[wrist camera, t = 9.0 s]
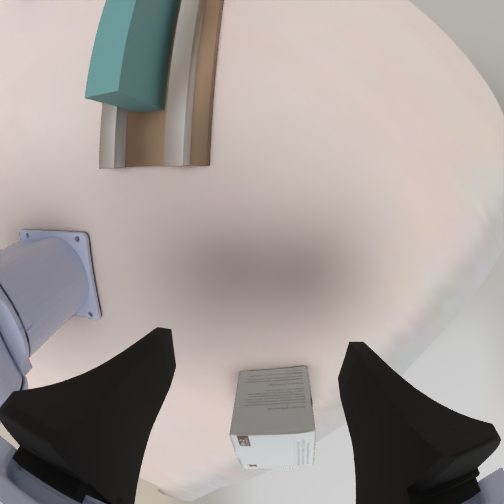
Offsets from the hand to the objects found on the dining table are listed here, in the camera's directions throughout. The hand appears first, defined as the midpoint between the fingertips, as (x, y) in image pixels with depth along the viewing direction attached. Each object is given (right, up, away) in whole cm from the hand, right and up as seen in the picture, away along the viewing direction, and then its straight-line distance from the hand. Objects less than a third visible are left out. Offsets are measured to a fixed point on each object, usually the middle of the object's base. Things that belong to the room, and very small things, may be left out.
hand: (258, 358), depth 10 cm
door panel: (-7, +18, +3) cm, 20 cm away
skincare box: (+2, -9, +13) cm, 16 cm away
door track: (-6, +19, +4) cm, 20 cm away
